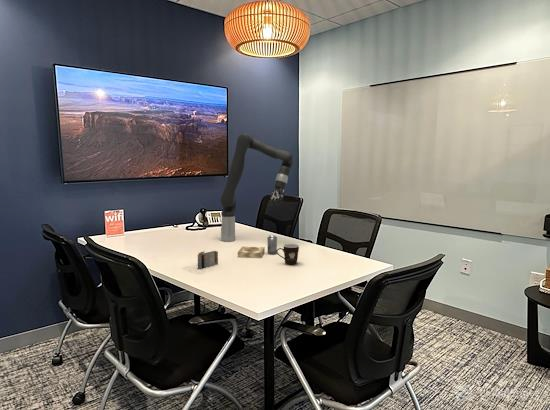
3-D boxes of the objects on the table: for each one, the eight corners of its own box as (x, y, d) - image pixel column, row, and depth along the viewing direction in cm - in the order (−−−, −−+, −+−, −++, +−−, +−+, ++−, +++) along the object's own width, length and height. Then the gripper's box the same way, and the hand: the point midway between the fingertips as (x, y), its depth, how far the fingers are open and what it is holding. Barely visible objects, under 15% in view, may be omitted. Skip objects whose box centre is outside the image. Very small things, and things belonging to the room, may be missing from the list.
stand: (237, 257, 215) (237, 251, 214) (242, 251, 229) (242, 245, 228) (261, 257, 214) (261, 252, 213) (264, 251, 227) (264, 246, 227)
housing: (267, 254, 222) (267, 236, 220) (268, 252, 227) (268, 234, 226) (276, 254, 221) (276, 236, 220) (277, 252, 227) (277, 234, 225)
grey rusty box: (201, 270, 191) (201, 251, 190) (197, 268, 193) (197, 250, 192) (218, 265, 199) (218, 247, 198) (214, 264, 201) (214, 247, 200)
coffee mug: (300, 262, 205) (300, 244, 204) (296, 266, 197) (296, 248, 196) (280, 260, 209) (280, 243, 208) (275, 264, 201) (275, 246, 200)
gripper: (271, 180, 246) (264, 203, 243) (281, 178, 233) (274, 203, 230) (280, 184, 249) (274, 207, 246) (291, 182, 236) (284, 206, 233)
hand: (274, 205), depth 238 cm, fingers open, 8 cm apart
